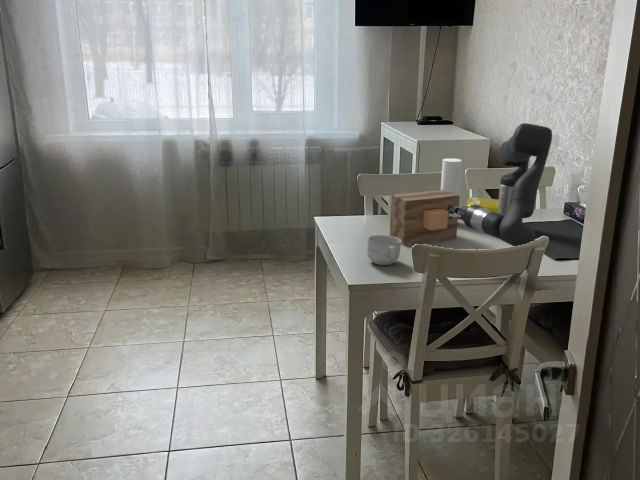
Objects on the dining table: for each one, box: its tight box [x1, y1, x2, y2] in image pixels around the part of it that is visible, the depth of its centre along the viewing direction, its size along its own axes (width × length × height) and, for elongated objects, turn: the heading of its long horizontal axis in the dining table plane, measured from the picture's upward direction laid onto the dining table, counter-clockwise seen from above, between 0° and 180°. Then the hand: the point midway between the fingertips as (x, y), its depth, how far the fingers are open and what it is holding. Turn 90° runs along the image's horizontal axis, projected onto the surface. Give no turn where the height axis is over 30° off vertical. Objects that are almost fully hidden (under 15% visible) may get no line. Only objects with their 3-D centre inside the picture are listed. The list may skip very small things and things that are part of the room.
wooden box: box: [389, 189, 461, 246], centre depth 224 cm, size 10×22×16 cm, turn 113°
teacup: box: [366, 234, 402, 266], centre depth 199 cm, size 14×11×8 cm
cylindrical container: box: [440, 157, 463, 196], centre depth 243 cm, size 7×7×25 cm
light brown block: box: [422, 208, 448, 230], centre depth 219 cm, size 8×7×6 cm
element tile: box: [466, 197, 499, 213], centre depth 263 cm, size 15×15×5 cm
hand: (449, 207), depth 209 cm, fingers closed
